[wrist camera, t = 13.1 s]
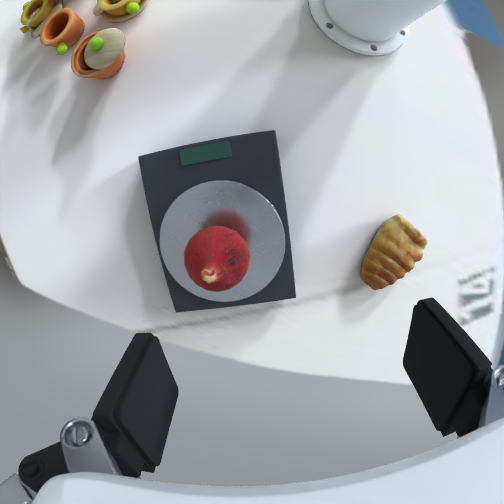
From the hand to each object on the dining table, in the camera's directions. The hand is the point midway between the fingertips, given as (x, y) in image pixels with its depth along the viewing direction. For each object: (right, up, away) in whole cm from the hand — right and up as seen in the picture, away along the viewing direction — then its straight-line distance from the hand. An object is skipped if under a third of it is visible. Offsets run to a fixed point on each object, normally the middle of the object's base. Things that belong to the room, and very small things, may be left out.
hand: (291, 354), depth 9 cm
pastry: (+16, +4, +24) cm, 29 cm away
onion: (-4, +4, +20) cm, 21 cm away
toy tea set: (-22, +35, +13) cm, 43 cm away
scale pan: (-5, +4, +20) cm, 21 cm away
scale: (-5, +7, +22) cm, 24 cm away
